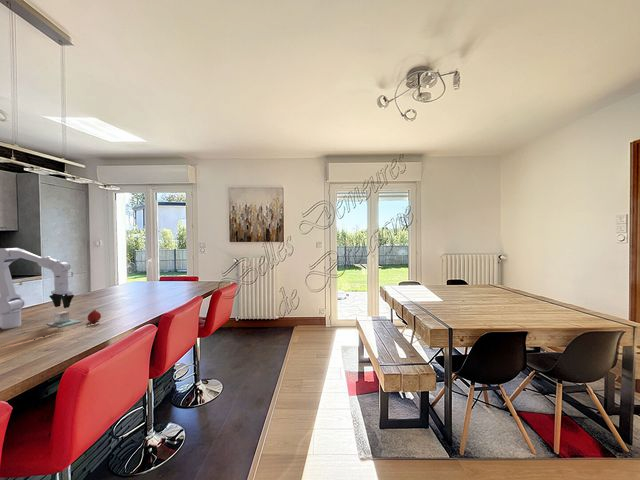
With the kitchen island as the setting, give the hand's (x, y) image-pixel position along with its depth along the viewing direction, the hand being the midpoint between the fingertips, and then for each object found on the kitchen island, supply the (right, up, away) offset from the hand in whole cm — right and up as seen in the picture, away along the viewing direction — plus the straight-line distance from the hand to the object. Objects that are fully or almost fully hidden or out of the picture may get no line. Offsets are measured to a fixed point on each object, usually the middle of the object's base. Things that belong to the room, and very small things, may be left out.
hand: (62, 307), depth 153 cm
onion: (+17, -10, +2) cm, 20 cm away
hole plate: (+2, -10, -1) cm, 10 cm away
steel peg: (0, -10, 0) cm, 10 cm away
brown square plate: (-7, -10, -8) cm, 15 cm away
